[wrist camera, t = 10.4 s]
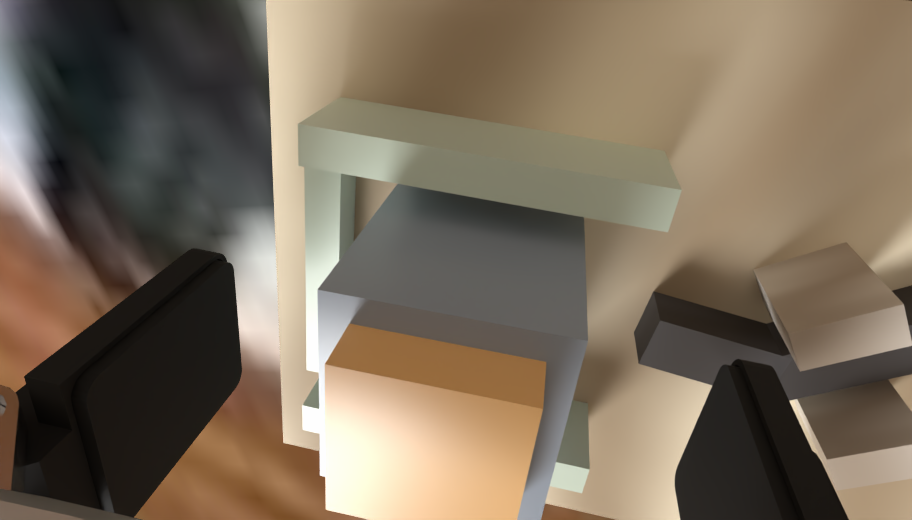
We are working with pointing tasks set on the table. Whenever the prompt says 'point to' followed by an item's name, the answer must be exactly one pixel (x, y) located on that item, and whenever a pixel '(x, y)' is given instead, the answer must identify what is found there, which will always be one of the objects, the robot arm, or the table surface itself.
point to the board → (696, 215)
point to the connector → (450, 358)
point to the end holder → (475, 175)
